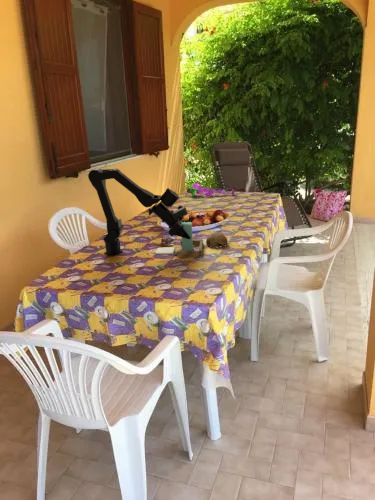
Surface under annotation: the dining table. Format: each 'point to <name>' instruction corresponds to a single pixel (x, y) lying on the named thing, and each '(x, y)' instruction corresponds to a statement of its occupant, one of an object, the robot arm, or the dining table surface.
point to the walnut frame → (192, 253)
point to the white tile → (165, 250)
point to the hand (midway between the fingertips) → (190, 236)
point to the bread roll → (216, 240)
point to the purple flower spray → (206, 190)
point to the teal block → (187, 243)
